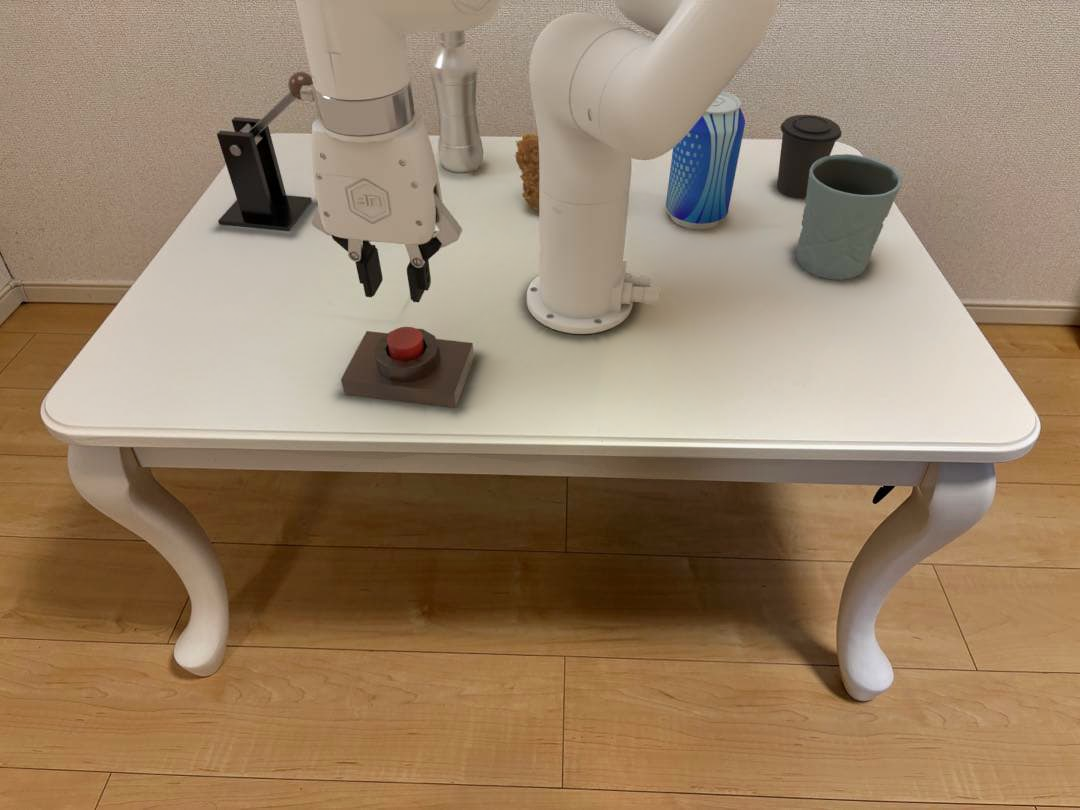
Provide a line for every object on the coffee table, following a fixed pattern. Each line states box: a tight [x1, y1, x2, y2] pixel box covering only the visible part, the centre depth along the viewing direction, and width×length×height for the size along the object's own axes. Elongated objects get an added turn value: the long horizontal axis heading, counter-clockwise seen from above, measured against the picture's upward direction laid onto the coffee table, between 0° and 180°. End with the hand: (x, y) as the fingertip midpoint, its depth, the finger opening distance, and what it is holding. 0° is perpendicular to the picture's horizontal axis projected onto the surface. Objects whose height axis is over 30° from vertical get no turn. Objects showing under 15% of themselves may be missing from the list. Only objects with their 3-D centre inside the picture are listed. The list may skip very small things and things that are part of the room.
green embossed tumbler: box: [796, 153, 903, 281], centre depth 93 cm, size 10×10×12 cm
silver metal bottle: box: [428, 30, 484, 174], centre depth 108 cm, size 6×7×20 cm
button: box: [387, 326, 424, 361], centre depth 79 cm, size 4×4×2 cm
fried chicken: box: [514, 133, 539, 213], centre depth 102 cm, size 10×14×13 cm
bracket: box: [216, 116, 313, 232], centre depth 101 cm, size 10×8×13 cm
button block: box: [340, 327, 475, 409], centre depth 80 cm, size 12×8×4 cm, turn 80°
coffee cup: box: [776, 114, 842, 199], centre depth 106 cm, size 8×8×10 cm
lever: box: [239, 71, 313, 145], centre depth 94 cm, size 15×3×3 cm
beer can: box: [665, 90, 746, 230], centre depth 99 cm, size 8×8×16 cm
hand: (396, 289), depth 74 cm, fingers open, 3 cm apart
